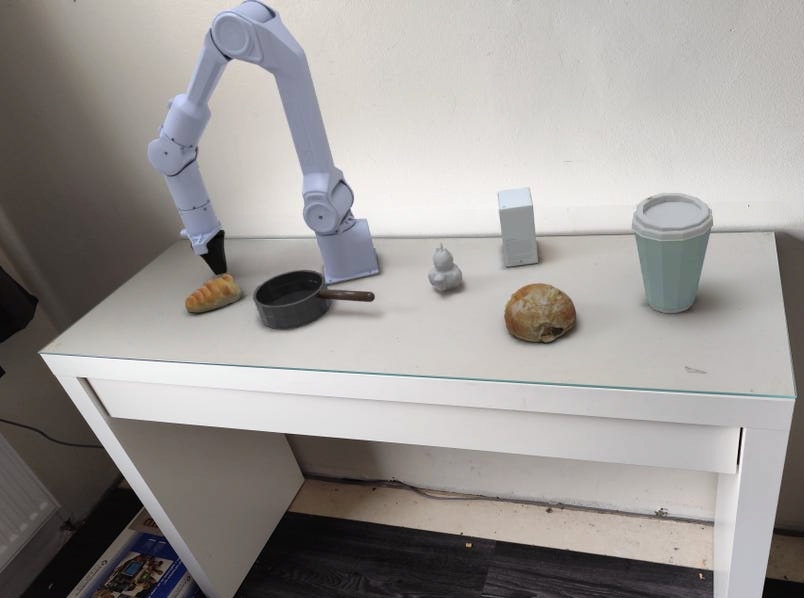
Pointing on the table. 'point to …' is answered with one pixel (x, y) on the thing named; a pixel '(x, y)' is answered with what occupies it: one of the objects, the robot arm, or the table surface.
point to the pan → (291, 299)
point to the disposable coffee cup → (671, 248)
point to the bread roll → (539, 313)
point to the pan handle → (346, 295)
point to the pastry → (213, 295)
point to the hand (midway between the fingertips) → (221, 272)
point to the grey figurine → (444, 270)
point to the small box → (517, 226)
